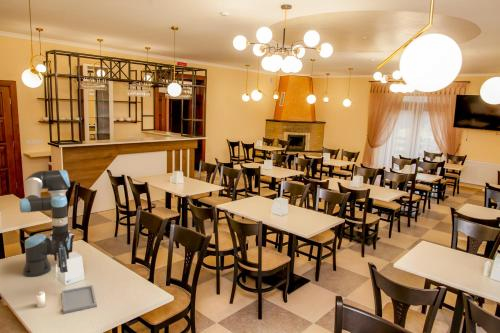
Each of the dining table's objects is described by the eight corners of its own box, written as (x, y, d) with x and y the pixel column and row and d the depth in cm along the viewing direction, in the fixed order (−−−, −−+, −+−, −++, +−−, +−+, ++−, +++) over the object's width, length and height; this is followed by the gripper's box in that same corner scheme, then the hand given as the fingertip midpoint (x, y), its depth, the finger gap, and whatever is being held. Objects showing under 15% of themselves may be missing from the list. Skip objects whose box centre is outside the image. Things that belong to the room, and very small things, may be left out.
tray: (62, 293, 200) (61, 290, 199) (92, 287, 207) (92, 285, 207) (63, 314, 181) (63, 311, 181) (96, 306, 189) (96, 303, 188)
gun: (59, 239, 200) (64, 240, 188) (62, 269, 199) (67, 271, 187) (54, 240, 198) (58, 241, 187) (57, 270, 197) (62, 273, 186)
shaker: (37, 305, 188) (36, 290, 186) (45, 303, 190) (44, 288, 188) (36, 309, 184) (36, 294, 183) (45, 307, 186) (44, 292, 185)
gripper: (42, 228, 182) (44, 270, 186) (77, 224, 190) (78, 265, 193) (43, 224, 189) (45, 265, 192) (76, 220, 196) (78, 260, 200)
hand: (62, 265), depth 193 cm, fingers closed on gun, 3 cm apart
